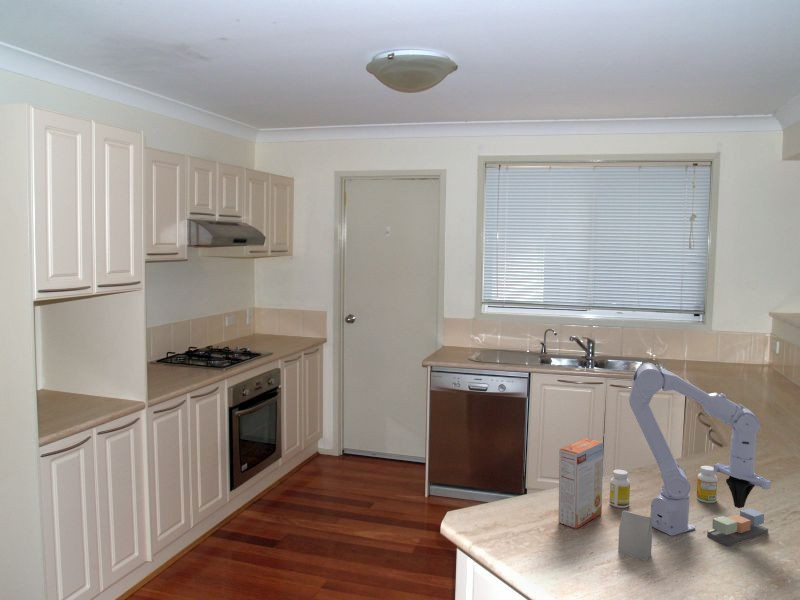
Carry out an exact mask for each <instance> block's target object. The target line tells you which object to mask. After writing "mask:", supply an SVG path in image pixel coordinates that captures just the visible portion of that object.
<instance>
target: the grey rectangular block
mask: <svg viewBox="0 0 800 600" xmlns="http://www.w3.org/2000/svg"><path fill="white" fill-rule="evenodd" d="M620 516H621V517H620V522H619V529H618V545H617V546H618V547H617V552H618V553H620V554H623V555H626V556H631V557H632V558H636V559H639V560H642V561H645V562H646V561H648V559H650V557H651V556H652V546H653V544H652V543H653V542H652V541H653V529H652V528H653V527H652V526H651V517H650V516H647V515H642V514H639V513H636V512H631V511H629V510H625V509H623V510H622V511H621V515H620Z"/></svg>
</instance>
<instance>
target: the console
mask: <svg viewBox="0 0 800 600" xmlns="http://www.w3.org/2000/svg"><path fill="white" fill-rule="evenodd" d="M767 534H769V528H768V527H765V526H763V525H761V524H760V525H757V526H752V525H751V526H750V530H749V531H746V532H743V533H739V532H734V533H731V534H728V535H725V534H723V533H721V532H719V531H717V530H714V529H709V530H707V533H706V536H707V537H708V538H709V539H712V540H713V541H716V542H719V543H721V544H723V545H725V546H727V547H731V546H734V545H736V544H740V543H742V542H746V541H749V540H750V539H751V540H752V539H754V538H758V537H761V536H764V535H767Z"/></svg>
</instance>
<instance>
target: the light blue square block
mask: <svg viewBox="0 0 800 600" xmlns="http://www.w3.org/2000/svg"><path fill="white" fill-rule="evenodd" d="M739 516H741V517H744V518H746V519H749V520H751V525H752V526H757V525H760V526H761V525H762V524H764V522H765V513H763V512H761V511H758V510H755V509H753V508H751V507H750V508H745V509H742V510H740V511H739Z"/></svg>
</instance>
